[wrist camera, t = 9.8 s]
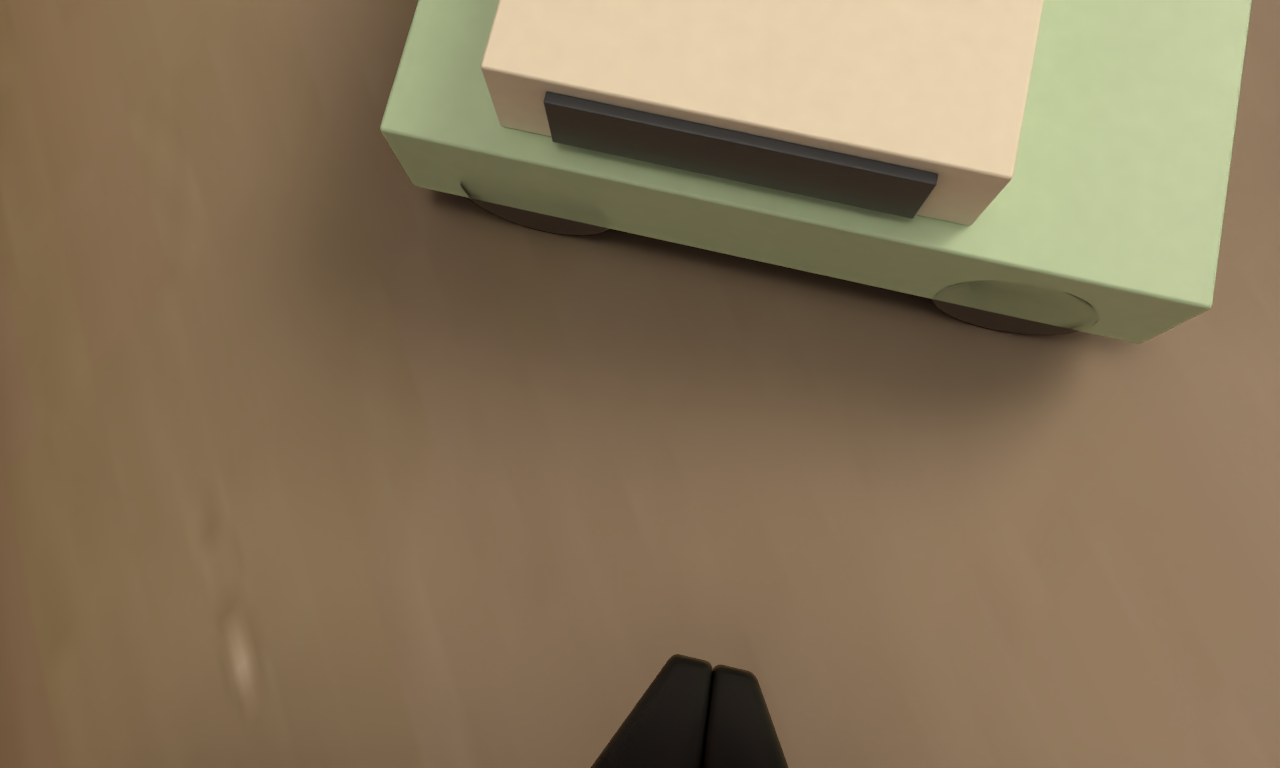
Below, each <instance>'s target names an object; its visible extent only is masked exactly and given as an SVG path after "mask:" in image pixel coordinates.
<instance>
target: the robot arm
mask: <svg viewBox="0 0 1280 768" xmlns="http://www.w3.org/2000/svg"><path fill="white" fill-rule="evenodd" d="M591 768H788V765H787V762H786V759H785V757H784V754H783V751H782V748H781V745H780V742H779V740H778V737H777V734H776V731H775V728H774V725H773V722H772V720H771V717H770V714H769V711H768V708H767V705H766V703H765V700H764V697H763V694H762V691H761V688H760V686H759V683H758V680H757V678H756V677H755V675H754V674H753V673H752V672H749V671H746V670H742V669H738V668H733V667H729V666H725V665H717V666H715V667H714V668H713V670H712V666H711V664H710V663H709V662H707V661H705V660H701V659H696V658H692V657H688V656H684V655H680V654H676V655H673V656H672V657H671V658H670V659H669V660H668V661H667V663H666V664H665V665H664V667H663V668H662V669H661V671H660V672H659V674H658V675H657V676H656V678H655V679H654V681H653V682H652V683H651V685H650V686H649V688H648V689H647V690H646V692H645V693H644V694H643V696H642V697H641V699H640V700H639V701H638V703H637V704H636V706H635V707H634V708H633V710H632V711H631V713H630V714H629V715H628V717H627V718H626V720H625V721H624V722H623V724H622V725H621V726H620V728H619V729H618V731H617V732H616V733H615V735H614V736H613V738H612V739H611V740H610V742H609V743H608V745H607V746H606V747H605V749H604V750H603V751H602V753H601V754H600V756H599V757H598V758H597V760H596V761H595V763H594V764H593V765H592V767H591Z"/></svg>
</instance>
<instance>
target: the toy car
mask: <svg viewBox="0 0 1280 768" xmlns="http://www.w3.org/2000/svg"><path fill="white" fill-rule="evenodd" d="M1251 2H1252V0H419V1H418V5H417V8H416V11H415V14H414V18H413V21H412V24H411V27H410V31H409V34H408V37H407V41H406V44H405V47H404V50H403V54H402V57H401V60H400V64H399V67H398V70H397V73H396V77H395V80H394V83H393V86H392V90H391V93H390V96H389V100H388V103H387V106H386V109H385V113H384V116H383V119H382V123H381V126H380V131H381V132H382V134H383V136H384V137H385V139H386V141H387V142H388V144H389V146H390V147H391V149H392V150H393V152H394V154H395V155H396V157H397V159H398V160H399V162H400V164H401V165H402V167H403V169H404V170H405V172H406V173H407V175H408V177H409V178H410V180H411V182H412V183H413V185H415V186H417V187H421V188H426V189H431V190H435V191H440V192H444V193H449V194H454V195H458V196H463V197H467V198H469V199H470V200H472V201H473V202H475V203H476V204H477V205H479V206H481V207H482V208H484V209H486V210H488V211H489V212H491V213H493V214H495V215H497V216H500V217H502V218H504V219H507V220H509V221H512V222H515V223H517V224H520V225H523V226H527V227H530V228H534V229H538V230H542V231H547V232H552V233H558V234H567V235H592V234H598V233H601V232H604V231H606V230H607V229H614V230H619V231H623V232H628V233H632V234H637V235H641V236H646V237H651V238H655V239H660V240H664V241H669V242H674V243H678V244H683V245H687V246H692V247H696V248H701V249H706V250H710V251H715V252H719V253H724V254H728V255H733V256H738V257H742V258H747V259H751V260H756V261H761V262H765V263H770V264H774V265H779V266H783V267H788V268H793V269H797V270H802V271H806V272H811V273H816V274H820V275H825V276H829V277H834V278H838V279H843V280H848V281H852V282H857V283H861V284H866V285H871V286H875V287H880V288H884V289H889V290H893V291H898V292H903V293H907V294H912V295H916V296H921V297H926V298H930V299H932V301H933V302H934V304H935V305H936V306H937V307H938V308H939V309H941V310H942V311H943V312H945V313H947V314H949V315H951V316H953V317H955V318H957V319H960V320H962V321H965V322H968V323H971V324H974V325H978V326H981V327H985V328H990V329H995V330H1000V331H1006V332H1014V333H1023V334H1064V333H1072V332H1078V331H1081V332H1086V333H1091V334H1095V335H1100V336H1104V337H1109V338H1113V339H1118V340H1123V341H1127V342H1132V343H1136V344H1140V343H1142V342H1144V341H1146V340H1149V339H1151V338H1153V337H1155V336H1157V335H1159V334H1161V333H1163V332H1165V331H1167V330H1169V329H1171V328H1173V327H1175V326H1177V325H1179V324H1181V323H1183V322H1185V321H1187V320H1189V319H1191V318H1193V317H1195V316H1197V315H1199V314H1201V313H1203V312H1205V311H1207V310H1209V309H1210V308H1211V306H1212V301H1213V293H1214V286H1215V278H1216V270H1217V262H1218V255H1219V247H1220V239H1221V232H1222V224H1223V216H1224V209H1225V201H1226V193H1227V186H1228V178H1229V170H1230V163H1231V155H1232V147H1233V140H1234V132H1235V124H1236V117H1237V109H1238V101H1239V94H1240V86H1241V78H1242V71H1243V63H1244V55H1245V48H1246V40H1247V32H1248V25H1249V17H1250V9H1251Z"/></svg>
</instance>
